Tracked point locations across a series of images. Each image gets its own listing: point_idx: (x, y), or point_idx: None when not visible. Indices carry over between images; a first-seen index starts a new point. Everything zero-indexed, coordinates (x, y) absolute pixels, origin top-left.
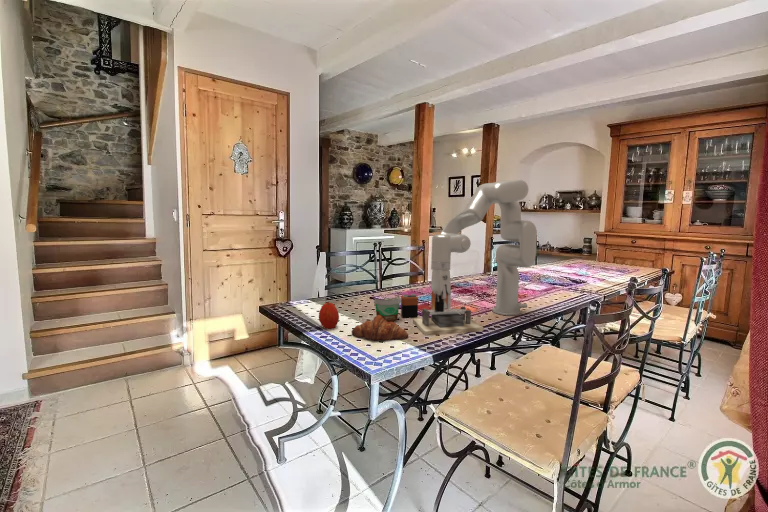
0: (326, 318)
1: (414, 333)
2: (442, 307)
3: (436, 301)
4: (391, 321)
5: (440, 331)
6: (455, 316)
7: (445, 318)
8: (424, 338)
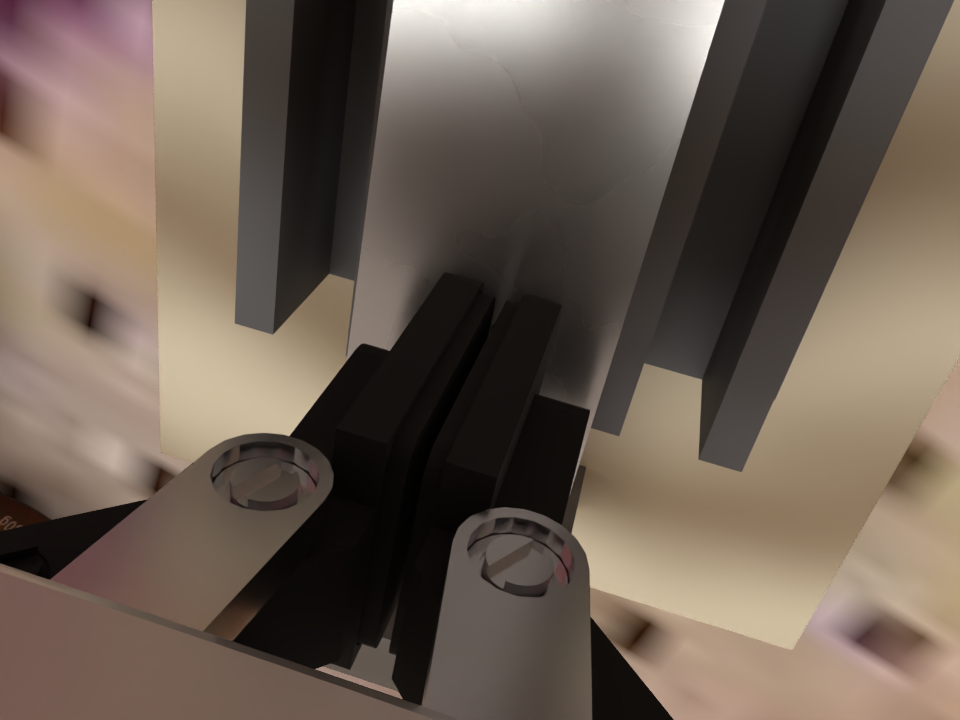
0: None
1: (634, 651)
2: (582, 435)
3: (360, 635)
4: None
5: (903, 433)
6: (887, 3)
7: (801, 331)
8: (889, 674)
